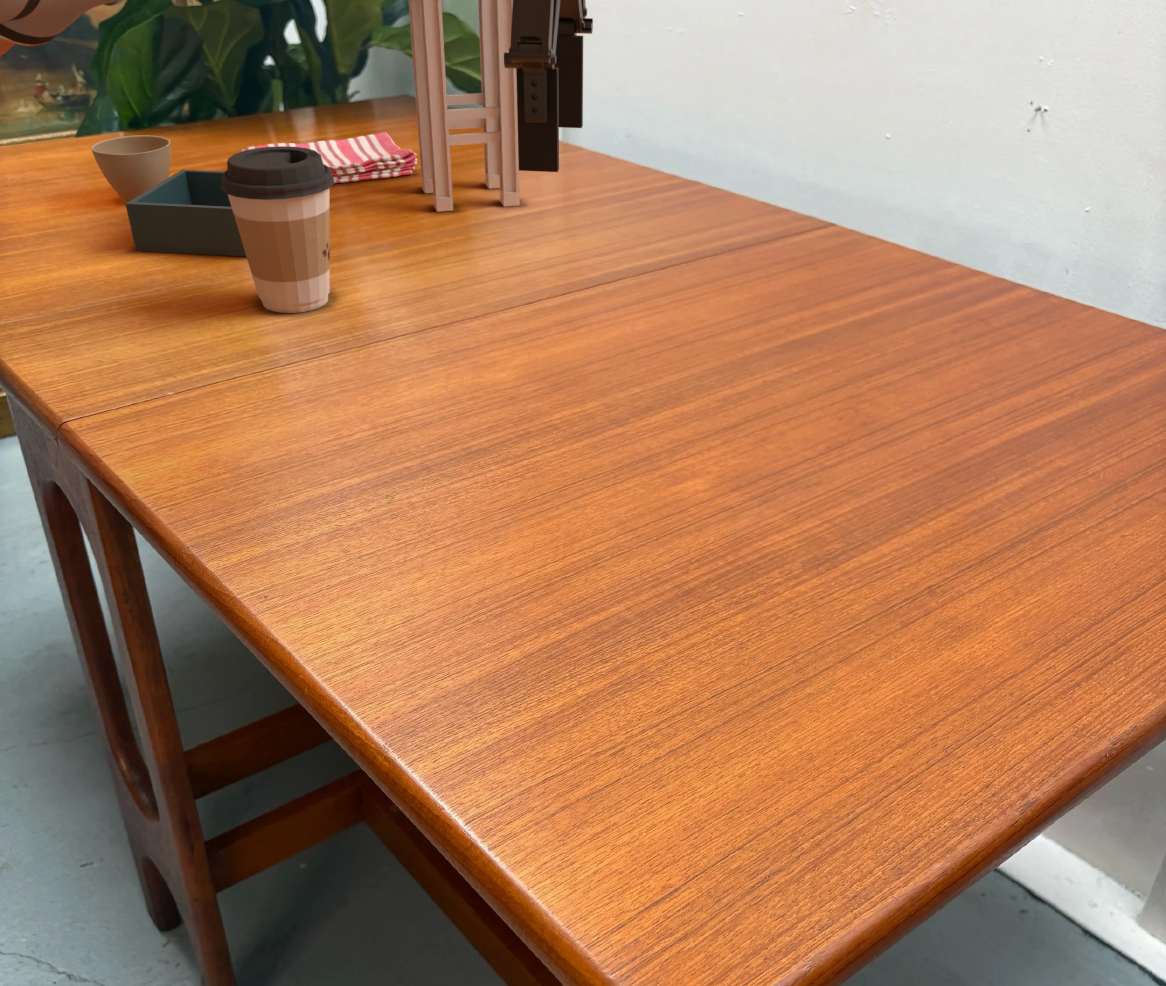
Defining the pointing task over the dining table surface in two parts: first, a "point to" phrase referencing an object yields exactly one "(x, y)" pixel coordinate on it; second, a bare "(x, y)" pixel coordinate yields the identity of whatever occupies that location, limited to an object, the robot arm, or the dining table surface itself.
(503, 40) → the stool
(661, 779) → the dining table surface
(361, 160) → the dish towel
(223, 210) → the bin
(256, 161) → the coffee cup
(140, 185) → the beige bowl
